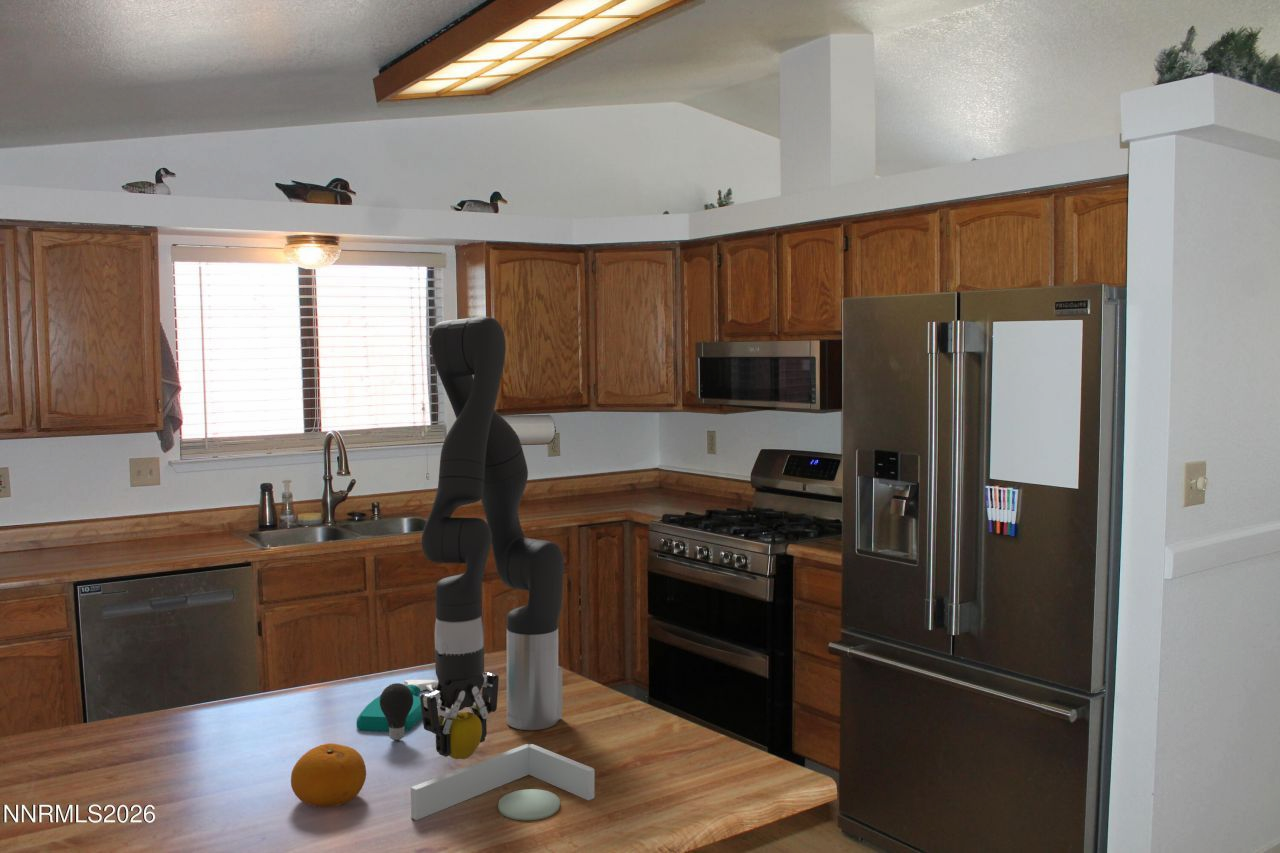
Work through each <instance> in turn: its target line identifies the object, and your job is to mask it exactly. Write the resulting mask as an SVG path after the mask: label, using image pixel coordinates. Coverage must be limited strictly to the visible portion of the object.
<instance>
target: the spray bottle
mask: <svg viewBox="0 0 1280 853" xmlns="http://www.w3.org/2000/svg"><path fill="white" fill-rule="evenodd" d="M404 685H406V686H407V687H408V688H409V689H410V690H411V692H412V694H413V705H412V708H411V710H410V712H409V714H408V716H407V718H406V723H405V726H404V733H405V732H407V731H409V730H411V729H412V728H414V726H415V725H417V723H418V722H420V721H421V719H423V717H422V709H421V701H420V696H419V695H421V692H423V691H426V690H427V691H429V692H430V693H432V692H434V689H435V688H437V685H438V680H435V679H406V680H404ZM380 696H381V694H380V695H379V696H377V697H375V698H374V699H373V700H372V701H371V702H369V703H368V704H367V705H366V706H365V708H364V709H363V710H362V711H361V712H360V714H359V715H358V717H357V718H356V721H355V722H356V727H357V729H358V730H359V731H363V732H377V733H378V732H380V733H381V732H382V733H389V726H388V721H387V719H386V717H385V715H384V714H383V712H382V710H381V707H380Z"/></svg>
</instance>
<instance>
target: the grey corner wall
mask: <svg viewBox="0 0 1280 853" xmlns="http://www.w3.org/2000/svg"><path fill="white" fill-rule="evenodd" d="M595 773H596V772H595V768H594V767H592V766H589V765H586V764H583V763H581V762H578V761H575V760H574V759H570V758H568V757H566V756H563V755H561V754H558V753H555V752H554V751H551V750H548V749H545V748H543V747H541V746H539V745H536V744H533V743H530V744H528V743H524V744H523V745H520V746H518V747H517V746H516V747H515V748H512V749H509V750H506V751H504V752H501V753H498V754H495V755H494V756H493V755H492V756H491V757H488V758H485V759H483V760H480V761H478V762H475V763H472V764H469V765H466V766H464V767H461V768H458V769H456V770H453V771H451V772H448V773H446V774H443V775H440V776H438V777H435V778H433V779H430V780H427V781H424V782H422V783H419V784H415V785H414V786H410V818H411V819H413V820H415V821H418V820H421V819H423V818H426V817H428V816H430V815H432V814H435V813H437V812H441V811H443V810H445V809H448V808H450V807H452V806H454V805H457V804H459V803H462V802H465V801H467V800H469V799H472V798H474V797H478V796H479V795H482V794H485V793H487V792H489V791H491V790H493V789H495V790H496V789H497V788H499V787H502V786H505V785H506V784H509V783H511V782H514V781H516V780H519V779H522V778H524V777H526V776H532V777H534V778H535V779H538V780H541V781H543V782H545V783H547V784H550V785H552V786H554V787H556V788H559V789H560V790H564V791H566V792H569V793H571V794H573V795H575V796H577V797H580V798H582V799H584V800H587V801H591V800H593V799H595Z"/></svg>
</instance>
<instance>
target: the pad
mask: <svg viewBox="0 0 1280 853" xmlns="http://www.w3.org/2000/svg"><path fill="white" fill-rule="evenodd" d="M497 803H498V807H497V808H498V812H499V813H500V814H501V815H502V816H504V817H505V818H508V819H510V820H516V821H527V822H529V821H537V820H542V819H546V818H549V817H552V816H553V815H555V814H556V813H557V812H558V811H559V809H560V806H561V800H560V798H559V797H558V795H556V794H555V793H553V792H551V791H548V790H544V789H537V788H530V789H528V788H526V789H520V790H515V791H512V792H509V793H507V794H505V795H503V796H502V797H501V798H499V800H498V802H497Z"/></svg>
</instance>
